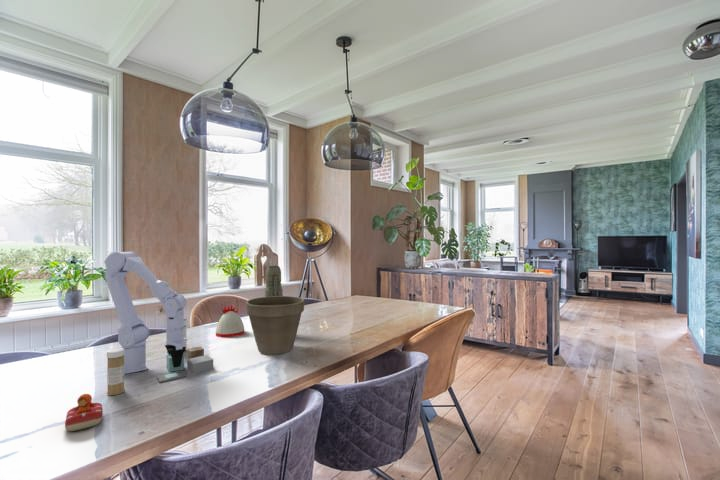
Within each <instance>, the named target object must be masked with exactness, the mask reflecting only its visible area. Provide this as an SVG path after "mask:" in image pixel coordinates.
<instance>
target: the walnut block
mask: <svg viewBox="0 0 720 480" xmlns="http://www.w3.org/2000/svg"><path fill="white" fill-rule="evenodd" d="M186 351H187V353H186V354H187V355H186V360H187V359H191V358H195V357H200V356H205V349H204V348H203V346H196V347H189V348H188V347H187V350H186Z"/></svg>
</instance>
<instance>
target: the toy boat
mask: <svg viewBox="0 0 720 480" xmlns="http://www.w3.org/2000/svg"><path fill="white" fill-rule="evenodd" d="M92 400H93V398H92V395H91V394H89V393H84V394H81V395H80V396H79V397H78V398H77V406H75V407H72V408H70V409H69V410H68V411H67V413H66V417H65V422H64V426H65V428H64V429H65V430H66V431H67V432H74V431H75V432H76V431H79V430H83V429H84V430H85V429H87V428H91V427H96V426H98V424H100V422H102V417H103V405H102V404H101V403H100V402H92Z"/></svg>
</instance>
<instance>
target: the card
mask: <svg viewBox="0 0 720 480" xmlns="http://www.w3.org/2000/svg"><path fill="white" fill-rule="evenodd" d="M186 377H187V376H186V374H185V373H184V371H183V370H177V371H173V372H168V373H166V374H165V373H164V374H161V375H156V379H157V381H158V383H159V384H162V383H166V382H170V381H174V380H179V379H183V378H186Z"/></svg>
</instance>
